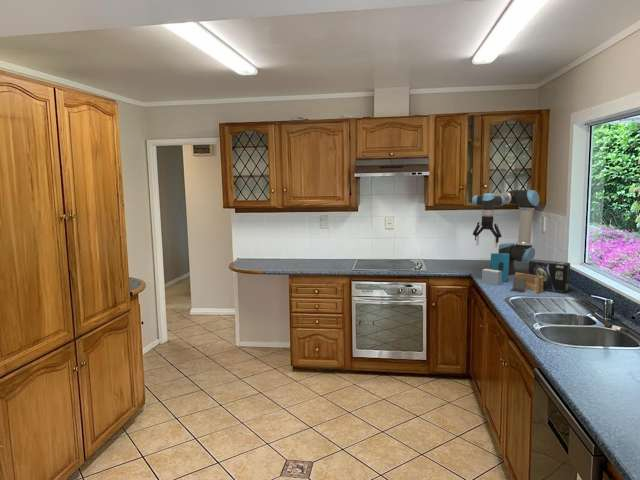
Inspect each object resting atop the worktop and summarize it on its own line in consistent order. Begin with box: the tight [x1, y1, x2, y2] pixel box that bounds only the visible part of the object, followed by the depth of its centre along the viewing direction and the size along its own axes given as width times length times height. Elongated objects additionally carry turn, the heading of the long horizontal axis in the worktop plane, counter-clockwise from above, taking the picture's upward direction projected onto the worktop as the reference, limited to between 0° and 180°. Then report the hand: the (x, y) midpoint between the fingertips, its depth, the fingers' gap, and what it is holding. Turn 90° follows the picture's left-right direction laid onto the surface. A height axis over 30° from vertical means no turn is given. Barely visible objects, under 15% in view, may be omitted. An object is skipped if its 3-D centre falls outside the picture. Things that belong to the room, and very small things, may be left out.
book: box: [481, 268, 503, 287], centre depth 322 cm, size 5×12×10 cm, turn 40°
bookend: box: [509, 277, 526, 294], centre depth 301 cm, size 4×8×8 cm, turn 40°
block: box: [489, 252, 510, 283], centre depth 330 cm, size 12×5×20 cm, turn 90°
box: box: [528, 259, 571, 294], centre depth 305 cm, size 23×10×19 cm, turn 49°
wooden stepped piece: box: [514, 271, 544, 295], centre depth 304 cm, size 10×19×10 cm, turn 40°
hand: (486, 246), depth 321 cm, fingers open, 13 cm apart
